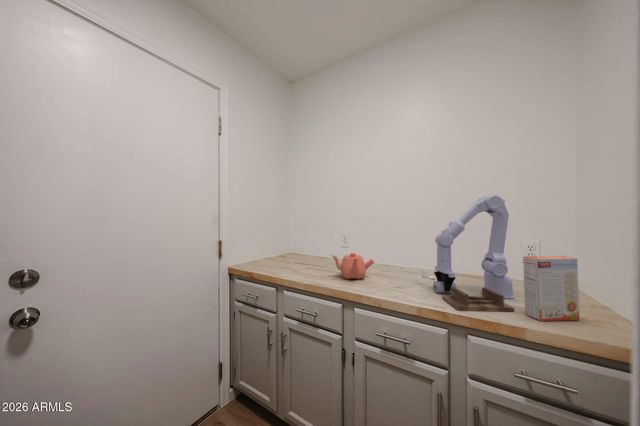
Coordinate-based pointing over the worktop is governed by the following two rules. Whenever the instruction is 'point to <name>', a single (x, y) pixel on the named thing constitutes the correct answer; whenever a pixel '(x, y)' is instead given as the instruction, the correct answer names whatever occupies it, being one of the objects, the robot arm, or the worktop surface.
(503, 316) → the worktop surface
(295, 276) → the worktop surface
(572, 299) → the cracker box
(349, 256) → the teapot
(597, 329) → the worktop surface
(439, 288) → the roll
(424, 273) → the teacup and saucer
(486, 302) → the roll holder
